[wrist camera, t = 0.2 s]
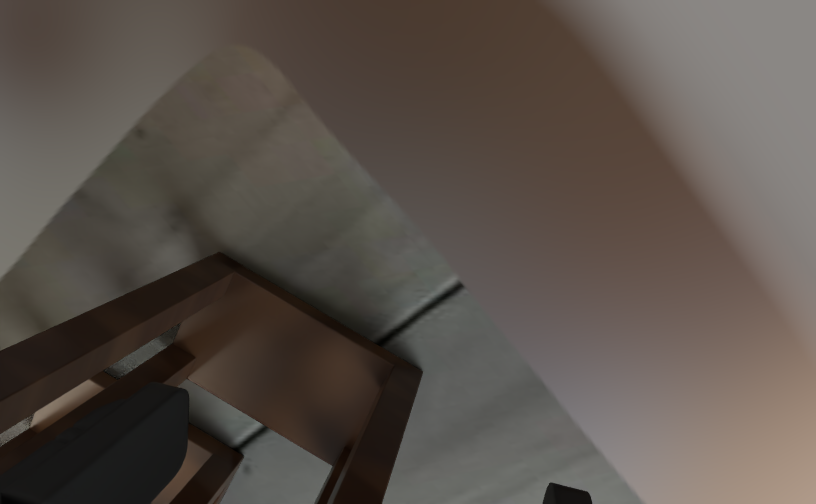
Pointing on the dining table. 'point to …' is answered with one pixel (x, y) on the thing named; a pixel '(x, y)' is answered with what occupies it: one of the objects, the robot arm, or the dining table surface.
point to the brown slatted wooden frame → (200, 472)
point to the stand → (230, 369)
